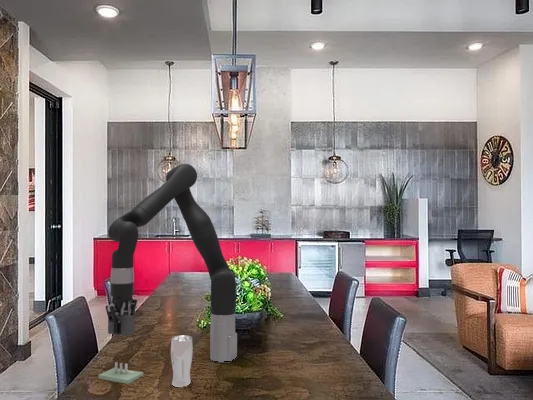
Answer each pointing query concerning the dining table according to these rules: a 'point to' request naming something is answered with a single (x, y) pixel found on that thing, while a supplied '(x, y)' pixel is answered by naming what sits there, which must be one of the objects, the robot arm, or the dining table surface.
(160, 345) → the dining table surface
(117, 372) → the header board
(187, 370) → the beer glass
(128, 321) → the block
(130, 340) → the dining table surface
